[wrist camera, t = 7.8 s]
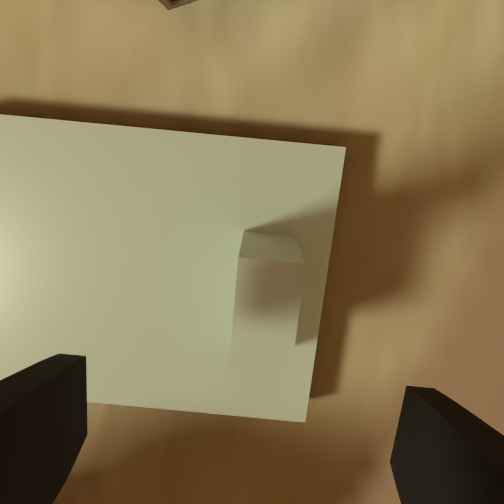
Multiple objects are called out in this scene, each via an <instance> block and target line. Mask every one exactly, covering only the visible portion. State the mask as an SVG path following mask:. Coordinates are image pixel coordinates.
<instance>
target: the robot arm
mask: <svg viewBox="0 0 504 504" xmlns="http://www.w3.org/2000/svg"><path fill="white" fill-rule="evenodd" d="M86 436H87V377H86V356H81V355H70V354H56V355H54V356H51V357H49V358H46V359H44V360H42V361H40V362H37V363H35V364H33V365H31V366H29V367H27V368H25V369H23V370H21V371H19V372H16V373H14V374H12V375H10V376H8V377H6V378H4V379H2V380H0V504H52V503H53V502H54V500H55V498H56V497H57V495H58V493H59V492H60V490H61V488H62V487H63V485H64V483H65V481H66V480H67V478H68V476H69V474H70V471H71V469H72V467H73V465H74V463H75V461H76V459H77V456H78V454H79V452H80V450H81V447H82V445H83V443H84V441H85V438H86ZM390 464H391V468H392V472H393V476H394V479H395V483H396V487H397V491H398V494H399V497H400V501H401V504H504V435H502V434H501V433H499V432H498V431H496V430H495V429H494V428H492V427H491V426H489V425H488V424H486V423H485V422H483V421H482V420H481V419H479V418H478V417H477V416H475V415H474V414H472V413H471V412H469V411H468V410H466V409H465V408H464V407H462V406H461V405H459V404H458V403H456V402H455V401H453V400H452V399H450V398H449V397H447V396H446V395H444V394H442V393H441V392H439V391H437V390H436V389H434V388H424V387H413V386H406V390H405V395H404V400H403V404H402V409H401V413H400V418H399V423H398V427H397V432H396V436H395V441H394V446H393V450H392V455H391V459H390Z"/></svg>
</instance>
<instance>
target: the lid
mask: <svg viewBox="0 0 504 504" xmlns="http://www.w3.org/2000/svg"><path fill="white" fill-rule="evenodd" d="M345 151H346V147H339V146H329V145H318V144H308V143H297V142H287V141H276V140H266V139H255V138H245V137H234V136H224V135H213V134H203V133H192V132H182V131H171V130H161V129H150V128H140V127H129V126H119V125H108V124H98V123H87V122H77V121H66V120H56V119H45V118H34V117H24V116H13V115H3V114H0V380H2V379H4V378H6V377H8V376H10V375H12V374H14V373H16V372H19V371H21V370H23V369H25V368H27V367H29V366H31V365H33V364H35V363H37V362H40V361H42V360H44V359H46V358H49V357H51V356H54V355H56V354H70V355H81V356H86V377H87V402H94V403H104V404H115V405H125V406H136V407H146V408H157V409H168V410H178V411H189V412H199V413H210V414H220V415H231V416H241V417H252V418H263V419H273V420H284V421H294V422H305V421H306V414H307V407H308V401H309V394H310V387H311V380H312V374H313V367H314V360H315V353H316V347H317V340H318V333H319V326H320V320H321V313H322V306H323V300H324V293H325V286H326V279H327V273H328V266H329V259H330V252H331V246H332V239H333V232H334V225H335V219H336V212H337V205H338V198H339V192H340V185H341V178H342V171H343V165H344V158H345Z"/></svg>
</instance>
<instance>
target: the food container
mask: <svg viewBox="0 0 504 504" xmlns="http://www.w3.org/2000/svg"><path fill="white" fill-rule="evenodd" d="M159 1H160V2H161V3H162V4H163V5H164V6H165V7H166V8H167V9H168V10H170V9H173V8H176V7H179V6H182V5H185V4H187V3H190V2H193V1H196V0H159Z"/></svg>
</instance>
